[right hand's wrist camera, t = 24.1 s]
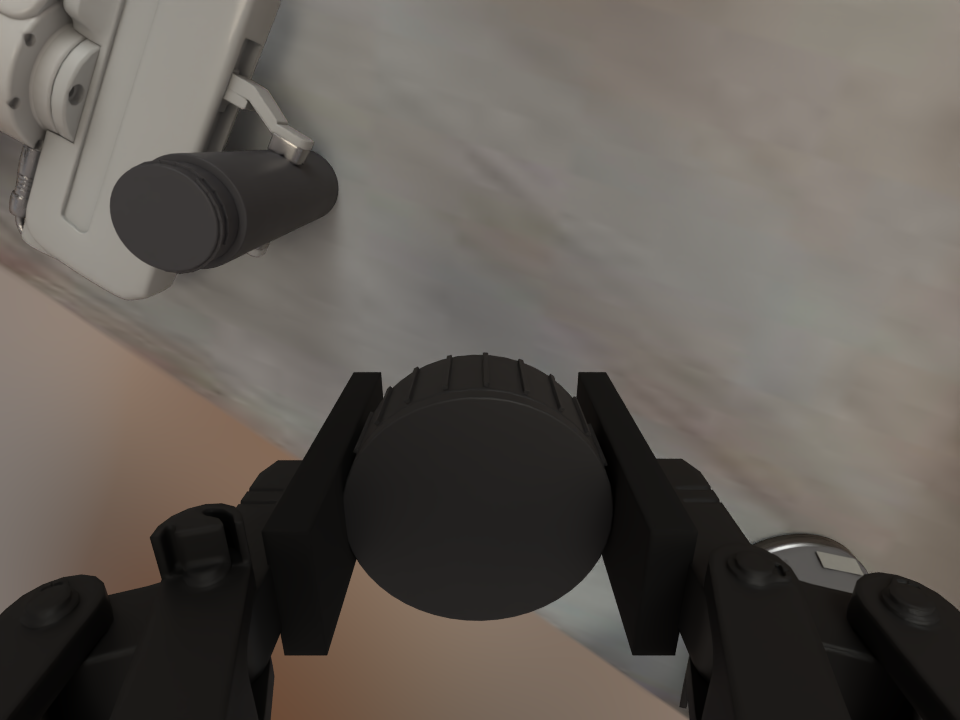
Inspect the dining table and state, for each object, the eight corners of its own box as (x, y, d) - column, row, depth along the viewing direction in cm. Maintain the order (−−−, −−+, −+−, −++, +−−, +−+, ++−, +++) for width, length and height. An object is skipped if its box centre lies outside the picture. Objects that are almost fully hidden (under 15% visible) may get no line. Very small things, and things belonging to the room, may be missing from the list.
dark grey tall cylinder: (304, 232, 38) (171, 303, 21) (256, 178, 36) (73, 207, 20) (352, 191, 37) (252, 232, 20) (305, 133, 35) (155, 126, 19)
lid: (522, 580, 14) (529, 656, 12) (326, 499, 13) (296, 565, 11) (640, 416, 12) (674, 471, 10) (422, 307, 11) (410, 342, 9)
